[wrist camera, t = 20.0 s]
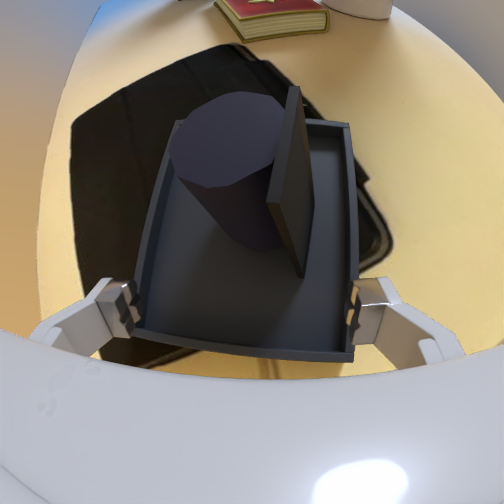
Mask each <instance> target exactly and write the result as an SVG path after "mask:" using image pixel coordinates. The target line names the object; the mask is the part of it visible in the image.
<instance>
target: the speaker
mask: <svg viewBox="0 0 504 504" xmlns="http://www.w3.org/2000/svg"><path fill="white" fill-rule="evenodd" d="M168 152H169V155H170V158H171V161H172V164H173V167H174V170H175V173H176V176H177V177H178V179H179V180H180V181H181V182H182V183H183V184H184V185H185V187H186V188H187V189H188V190H189V191H190V192H191V193H192V194H193V196H194V197H195V198H196V199H197V200H198V201H199V202H200V203H201V205H202V206H203V207H204V208H205V209H206V210H207V211H208V213H209V214H210V215H211V216H212V217H213V218H214V219H215V220H216V222H217V223H218V224H219V225H220V226H221V227H222V228H223V229H224V231H225V232H226V233H227V234H228V235H229V236H230V237H231V238H232V240H234V241H236V242H238V243H240V244H242V245H244V246H246V247H248V248H250V249H252V250H254V251H270V250H272V249H274V248H276V247H277V246H279V245H281V244H283V243H284V245H285V248H286V250H287V252H288V255H289V257H290V259H291V262H292V264H293V267H294V269H295V272H296V274H297V276H298V278H301V279H304V278H305V272H306V266H307V259H308V253H309V246H310V239H311V232H312V225H313V217H314V209H315V198H314V188H313V178H312V169H311V160H310V152H309V144H308V136H307V129H306V122H305V115H304V109H303V103H302V97H301V91H300V86H289V91H288V96H287V101H286V106H285V110H284V109H283V108H282V106H281V105H280V104H279V103H278V102H277V101H276V100H275V99H274V98H273V96H268V95H263V94H257V93H250V92H244V91H239V92H234V93H228V94H224V95H222V96H220V97H218V98H216V99H214V100H212V101H210V102H208V103H206V104H204V105H202V106H200V107H199V108H197V109H195V110H193V111H192V112H191V113H190V115H189V116H188V117H187V118H186V120H185V121H184V122H183V123H182V125H181V126H180V127H179V128H178V130H177V131H176V132H175V133H174V135H173V136H172V139H171V142H170V146H169V150H168Z"/></svg>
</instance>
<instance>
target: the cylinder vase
mask: <svg viewBox="0 0 504 504" xmlns="http://www.w3.org/2000/svg"><path fill="white" fill-rule="evenodd" d="M322 1H323V2H324V4H326V5H327V6H329V7H330V8H332V9H335V10H337V11H340V12H342V13H346V14H349V15H353V16H357V17H361V18H367V19H375V20H382V19H386V18H388V17H389V16H390V14H391V10H392V5H393V0H322Z"/></svg>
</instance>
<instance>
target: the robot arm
mask: <svg viewBox="0 0 504 504" xmlns="http://www.w3.org/2000/svg"><path fill="white" fill-rule="evenodd" d="M347 290H348V293H349V295H348V297H347V298H346V299H345V305H344V315H345V320H346V323H347V324H348V325H349V326H350V327H349V331H348V332H349V336H350V340H351V344H352V345H363V344H374V346H375V347H376V348H377V349H378V350H379V351H380V352H381V353H382V354H383V355H384V356H385V357H386V358H387V359H388V360H389V361H390V362H391V363H392V364H393V365H394V366H395V367H396V368H397V369H398V370H395V371H388V372H381V373H373V374H365V375H356V376H346V377H333V378H317V379H237V378H220V377H207V376H196V375H187V374H178V373H170V372H163V371H156V370H150V369H143V368H138V367H132V366H127V365H122V364H117V363H112V362H107V361H103V360H99V359H94V358H90V356H91V355H92V354H93V353H94V352H96V351H97V350H98V349H99V348H100V347H102V346H103V345H104V344H105V343H107V342H108V341H109V340H110V339H111V338H113V336H114V337H122V338H130V337H131V335H132V333H133V332H134V330H135V328H136V325H135V322H137V321H139V320H140V319H141V317H142V315H143V310H144V305H143V300H142V297H141V296H140V295H139V294H138V293H137V291H138V286H137V283H136V281H134V280H133V279H119V278H102V279H101V280H100V281H99V282H98V283H97V285H96V286H95V287H94V288H93V289H92V291H91V292H90V293H89V294H88V295H87V297H86V298H85V299H84V300H80V301H78V302H76V303H74V304H72V305H70V306H69V307H67V308H65V309H63V310H61V311H59V312H58V313H56V314H54V315H52V316H50V317H49V318H47V319H45V320H43V321H41V322H40V323H39V324H38V326H37V327H36V328H35V330H34V331H33V332H32V333H31V335H30V336H29V337H28V339H27V338H24V337H22V336H19V335H16V334H14V333H11V332H8V331H6V330H4V329H1V328H0V504H504V344H502V345H498V346H495V347H492V348H489V349H486V350H483V351H479V352H476V353H473V354H469V355H466V354H465V352H464V350H463V348H462V346H461V344H460V343H459V341H458V339H457V337H456V335H455V333H453V332H452V331H450V330H449V329H447V328H446V327H444V326H443V325H441V324H439V323H438V322H436V321H435V320H433V319H432V318H430V317H428V316H427V315H425V314H424V313H422V312H421V311H419V310H417V309H416V308H414V307H412V306H411V305H409V304H408V303H403V301H402V300H401V298H400V296H399V294H398V292H397V291H396V289H395V287H394V285H393V283H392V282H391V280H390V278H389V277H377V278H365V279H349V282H348V287H347Z"/></svg>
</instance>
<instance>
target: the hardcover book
mask: <svg viewBox="0 0 504 504" xmlns="http://www.w3.org/2000/svg"><path fill="white" fill-rule="evenodd" d="M214 4H215V6H216V7H217V8H218V9H219V11H220V12H221V13H222V15H223V16H224V17H225V19H226V20H227V21H228V23H229V24H230V25H231V27H232V28H233V30H234V31H235V32H236V34H237V35H238V37H239V38H240V40H241V41H242V42H243V44H244V43H249V42H254V41H259V40H265V39H271V38H277V37H285V36H293V35H302V34H314V33H326V32H327V31H328V28H329V24H330V15H329V12H328V10H327V9H325V8H324V7H322V6H321V5H319V4H318V3H316V2H314V1H313V0H216V2H214Z"/></svg>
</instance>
